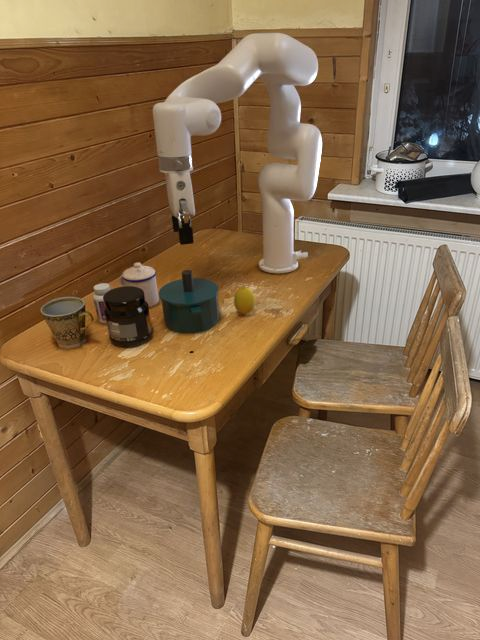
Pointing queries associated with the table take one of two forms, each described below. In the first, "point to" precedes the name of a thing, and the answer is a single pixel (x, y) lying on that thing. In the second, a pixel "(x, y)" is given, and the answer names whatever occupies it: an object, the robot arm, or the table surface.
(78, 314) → the ceramic cup
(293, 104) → the robot arm
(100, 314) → the pill bottle
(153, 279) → the teacup with lid
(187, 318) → the cooker
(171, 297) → the cooker lid
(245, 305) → the lemon
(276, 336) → the table surface
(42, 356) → the table surface
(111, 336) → the supplement container
